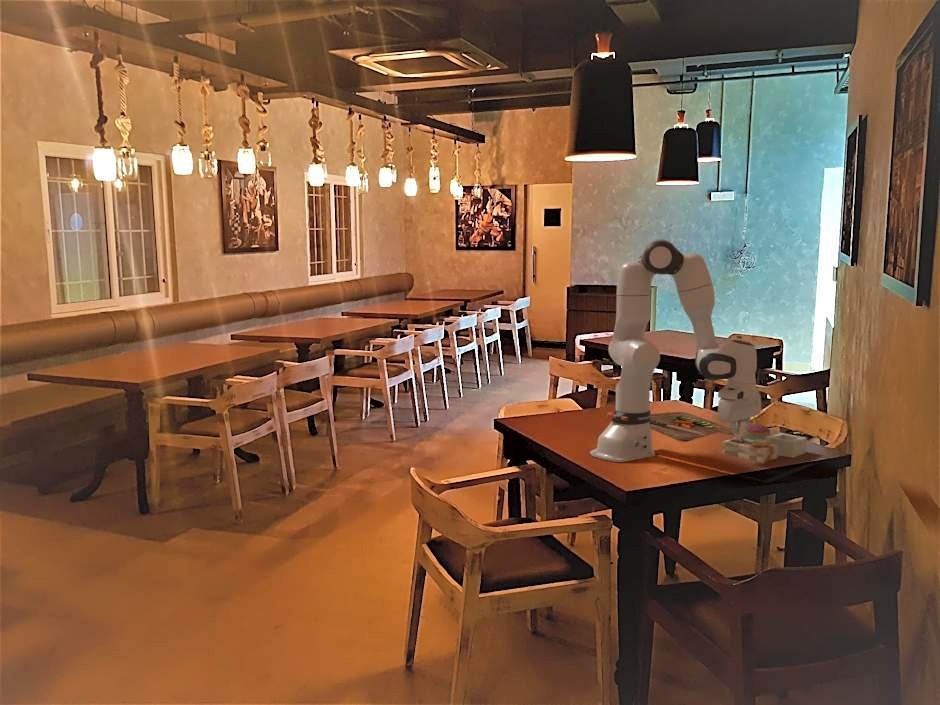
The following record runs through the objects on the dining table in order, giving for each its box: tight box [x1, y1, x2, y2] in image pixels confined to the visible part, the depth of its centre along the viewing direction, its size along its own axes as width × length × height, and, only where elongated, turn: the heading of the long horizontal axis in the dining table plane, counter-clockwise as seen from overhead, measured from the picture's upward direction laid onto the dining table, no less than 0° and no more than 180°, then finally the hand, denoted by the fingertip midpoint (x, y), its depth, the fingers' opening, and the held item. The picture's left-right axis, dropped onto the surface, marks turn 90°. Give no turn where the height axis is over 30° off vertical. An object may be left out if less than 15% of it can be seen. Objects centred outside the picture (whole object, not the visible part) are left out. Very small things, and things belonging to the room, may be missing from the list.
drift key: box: [752, 439, 770, 447], centre depth 237 cm, size 4×4×6 cm
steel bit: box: [733, 419, 746, 444], centre depth 242 cm, size 3×3×11 cm
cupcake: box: [745, 416, 771, 440], centre depth 257 cm, size 9×8×12 cm
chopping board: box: [649, 411, 734, 443], centre depth 284 cm, size 45×27×3 cm, turn 18°
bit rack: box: [765, 432, 808, 459], centre depth 243 cm, size 9×9×6 cm
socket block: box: [721, 437, 779, 464], centre depth 240 cm, size 9×14×5 cm, turn 39°
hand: (739, 431), depth 242 cm, fingers open, 4 cm apart
